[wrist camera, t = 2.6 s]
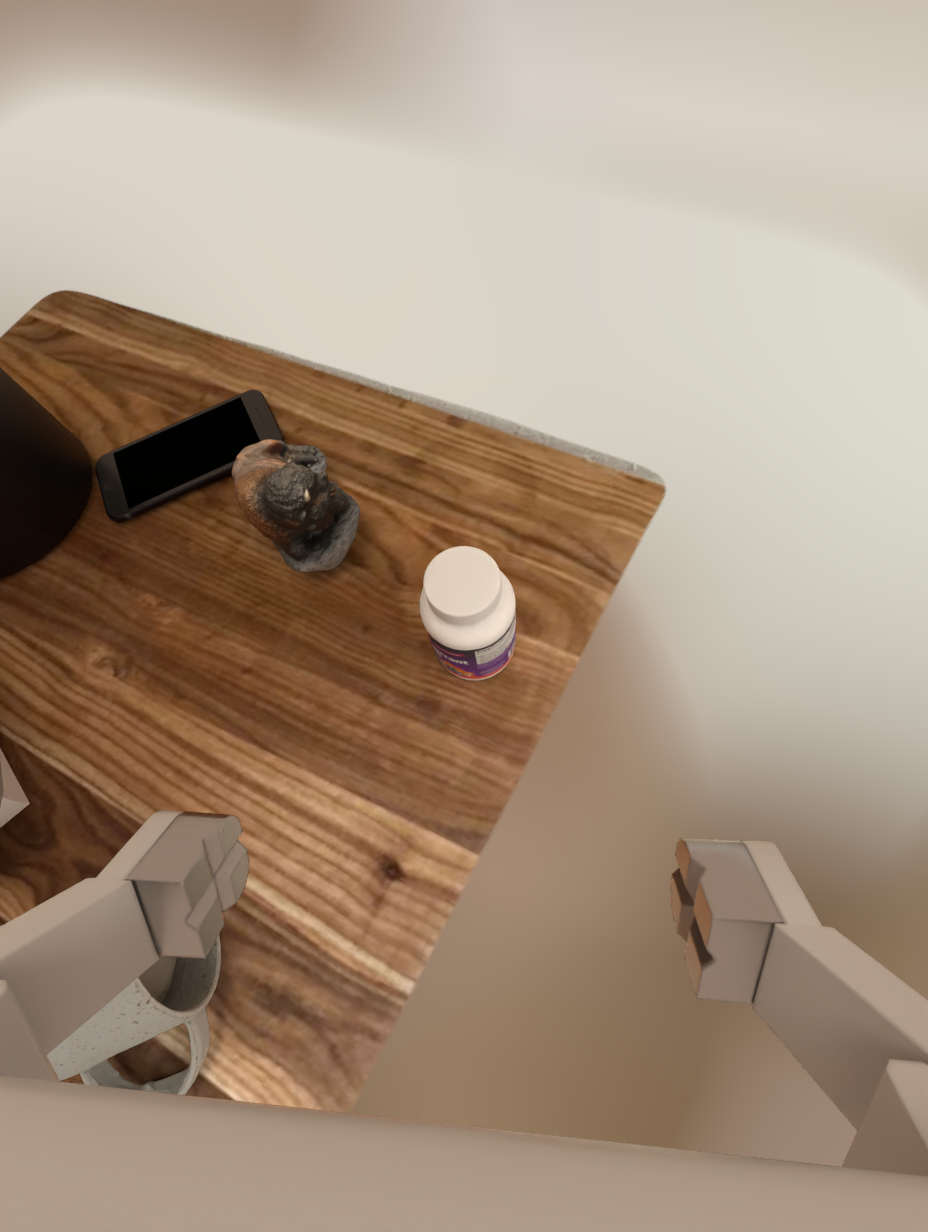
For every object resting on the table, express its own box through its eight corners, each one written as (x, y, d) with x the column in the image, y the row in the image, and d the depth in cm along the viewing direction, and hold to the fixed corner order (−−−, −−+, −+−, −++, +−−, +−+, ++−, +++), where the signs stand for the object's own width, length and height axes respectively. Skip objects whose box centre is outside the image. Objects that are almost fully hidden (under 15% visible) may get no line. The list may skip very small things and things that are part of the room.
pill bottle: (419, 639, 37) (388, 574, 28) (480, 592, 38) (469, 515, 29) (469, 699, 35) (453, 650, 26) (532, 647, 36) (537, 583, 27)
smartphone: (96, 463, 45) (88, 456, 44) (261, 390, 47) (257, 382, 46) (115, 529, 42) (107, 523, 42) (290, 449, 44) (286, 442, 43)
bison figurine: (238, 497, 43) (161, 402, 33) (313, 450, 44) (258, 345, 35) (314, 604, 38) (249, 529, 29) (394, 549, 40) (357, 460, 30)
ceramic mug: (70, 926, 32) (-59, 953, 24) (200, 856, 32) (113, 863, 25) (110, 1135, 28) (-29, 1240, 21) (256, 1050, 29) (172, 1123, 21)
